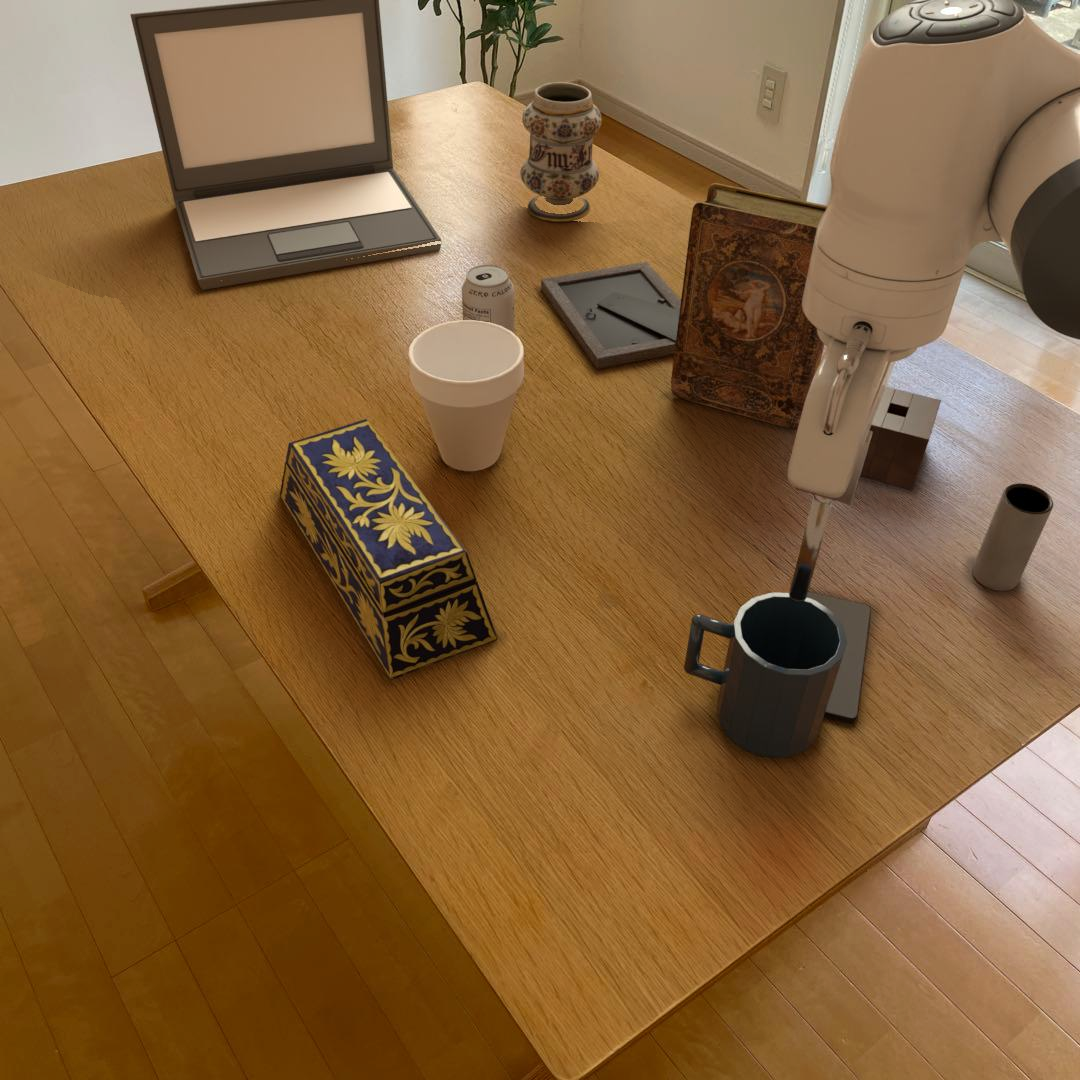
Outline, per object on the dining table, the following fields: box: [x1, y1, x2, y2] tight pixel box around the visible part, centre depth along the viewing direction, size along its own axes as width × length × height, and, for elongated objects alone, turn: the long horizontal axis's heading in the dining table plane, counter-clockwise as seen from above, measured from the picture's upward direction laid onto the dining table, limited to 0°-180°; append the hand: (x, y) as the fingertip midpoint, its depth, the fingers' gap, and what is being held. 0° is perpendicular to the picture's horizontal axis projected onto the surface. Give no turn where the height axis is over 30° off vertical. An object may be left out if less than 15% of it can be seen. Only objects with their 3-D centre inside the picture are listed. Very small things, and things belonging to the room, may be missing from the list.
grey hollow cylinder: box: [971, 482, 1054, 592], centre depth 103 cm, size 4×4×10 cm
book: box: [670, 182, 828, 430], centre depth 119 cm, size 16×6×25 cm, turn 65°
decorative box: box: [279, 418, 499, 680], centre depth 103 cm, size 11×30×9 cm, turn 30°
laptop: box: [129, 0, 442, 291], centre depth 150 cm, size 35×28×28 cm
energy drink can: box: [461, 264, 515, 334], centre depth 125 cm, size 6×6×15 cm
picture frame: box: [540, 261, 681, 370], centre depth 141 cm, size 16×2×21 cm
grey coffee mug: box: [683, 591, 847, 759], centre depth 90 cm, size 13×9×11 cm
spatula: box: [788, 431, 873, 603], centre depth 77 cm, size 4×1×17 cm, turn 65°
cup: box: [407, 319, 525, 472], centre depth 115 cm, size 12×12×14 cm
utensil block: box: [860, 386, 942, 491], centre depth 117 cm, size 8×8×7 cm
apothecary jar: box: [519, 81, 603, 223], centre depth 159 cm, size 12×12×18 cm
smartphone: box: [807, 590, 872, 724], centre depth 98 cm, size 7×1×15 cm
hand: (833, 465), depth 74 cm, fingers closed on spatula, 1 cm apart
